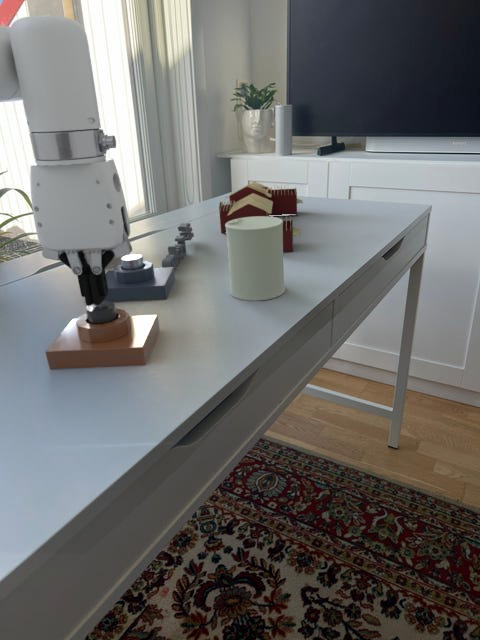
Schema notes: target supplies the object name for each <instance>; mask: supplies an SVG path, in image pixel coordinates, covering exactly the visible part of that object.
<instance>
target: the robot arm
mask: <svg viewBox="0 0 480 640" xmlns="http://www.w3.org/2000/svg"><path fill="white" fill-rule="evenodd" d="M93 72H94V71H93V67H92V60H91V53H90V46H89V41H88V36H87V32H86V30H85V29H84V27H83V25H82V24H81V23H80V22H78V21H77V20H75V19H72V18H69V17H65V16H64V17H63V16H56V15H33V16H31V15H30V16H24V17H21V18H20V17H19V18H18V19H16V20H14V21H13V22H12V23H11V25H10V26H6V25H1V24H0V103H18V102H19V103H20V102H22V104H23V109H24V115H25V119H26V124H27V129H28V133H29V138H30V143H31V147H32V152H33V158H34V162H32V163H31V164H30V169H29V170H30V198H31V207H32V215H33V221H34V227H35V231H36V235H37V239H38V243H39V244H40V246H41V255H42V257H43V258H45V259H48V260H51V261H60V262H62V263H63V264H64V265H66V266H67V267H68V268H69V269H70V270H71V271H72V274H73V275H75V276H77V280H78V285H79V286H78V287H79V291H80V292H79V293H80V295H81V297H82V298H84V300H85V305H86V307H87V306H89V305H92V304H95V305H100V304H101V303H102V301H103V300H104V299H105V297H106V296H107V295H108V285H107V279H106V273H107V272H106V269H107V268H106V267H107V265H108V264H109V263H110V262H111V261H112V260H113V259H117V258H120V257H124V256H127V255H131V254H132V252H133V247H132V244H131V242H130V239H129V237H130V235H131V223H130V219H129V212H128V209H127V203H126V198H125V195H124V191H123V186H122V183H121V179H120V175H119V172H118V169H117V165H116V163H115V161H114V159H113V158H110V157H109V158H107V157H106V158H105V154H106V155H107V151H108V150H110V149H116V148H117V139H116V136H115V135H109V134H105V132H104V129H102V124H101V118H100V112H99V106H98V105H99V104H98V99H97V93H96V86H95V85H96V84H95V79H94V73H93ZM85 250H91V265H92V268H90V265H89V262H88V259H87V256H86V253H85Z"/></svg>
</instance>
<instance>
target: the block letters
mask: <svg viewBox="0 0 480 640" xmlns="http://www.w3.org/2000/svg"><path fill="white" fill-rule="evenodd" d="M191 225H192V224H191V223H190V222H187V223H186V222H181V223H180V225H179V226H177V229H178V232H179V235H176V237H175V238H174V242H177V244H174V245H167V252H168V254H166V255H165V257H164V258H163V259H162V260H161V268H163V267H174V271H176V270H177V268H178V267H179V264H181V262H182V261H183V259H184V258H185V256H186V255H187V245H186V241H192V240H193V237H195V234H194V232H193V231H194V230H193V228H192V226H191Z"/></svg>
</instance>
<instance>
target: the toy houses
mask: <svg viewBox="0 0 480 640" xmlns="http://www.w3.org/2000/svg"><path fill="white" fill-rule="evenodd" d="M273 186H274V188H273V187H272V186H270V187H269V186H266V185H263V184H261V183H259V182H256V181H251V183H249V184H247V185H245V186H243V187H241V188H239V189H238V190H235V191H234V192H232V193H231V194H228V195H227V196H225V200H226V199H228V198H229V201H227V202H226V201H223V200H221V201H219V206H218V210H219V211H218V212H219V222H220V223H219V224H220V233H225V232H226V226H225V224H226V223H227V222H228V221H231V220H234V219H238V218H243V217H253V216H269V215H282V214H297V215H298V204H302V205H303V203H304V202H303V200H302V199H300V198H298V192H297V187H296V186H294V188H289V187H288V184H286V185H285V186H284V188H283V186H282V185H280V186H279V188H277V189H276V187H277V185H273ZM286 186H287V187H286ZM272 188H273V189H272ZM269 217H271V216H269ZM273 217H274V216H273ZM287 217H288V216H286V217H285V220H284V219H283V217H282V216H281V217H280V219H282V220H283V253H294V236H301V229H298V228H296V227H293V225H294V224H293V219H292V216H289V217H290V220H288V219H287Z"/></svg>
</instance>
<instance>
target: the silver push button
mask: <svg viewBox="0 0 480 640" xmlns="http://www.w3.org/2000/svg"><path fill="white" fill-rule="evenodd" d="M143 261H144V257H143V255H142V254H139V253H138V254H136V253H134V254H129V255H127V256H124V257H122V258H121V262H122V263H121V264H122V268H123V270H136V269H141V268H143V267H144V263H143Z"/></svg>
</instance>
